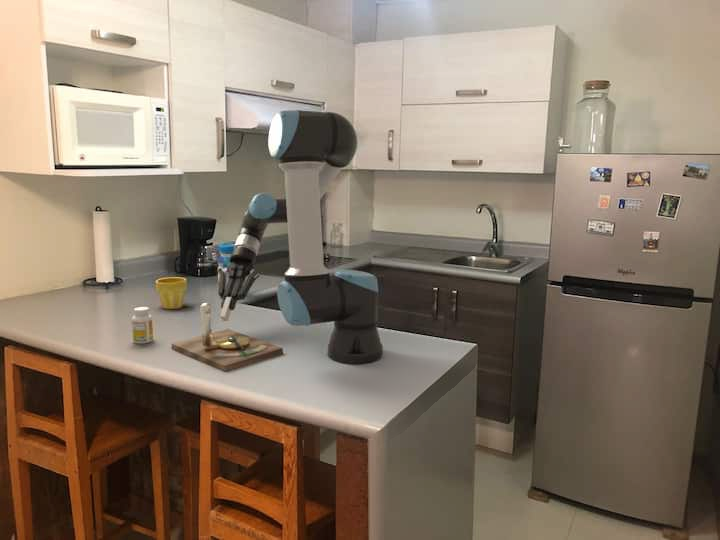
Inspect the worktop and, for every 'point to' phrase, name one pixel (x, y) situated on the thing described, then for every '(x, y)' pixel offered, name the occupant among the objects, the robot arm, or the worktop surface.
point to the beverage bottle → (225, 259)
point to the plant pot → (171, 291)
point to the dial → (221, 343)
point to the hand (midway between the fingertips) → (224, 318)
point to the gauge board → (227, 351)
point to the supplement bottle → (142, 325)
